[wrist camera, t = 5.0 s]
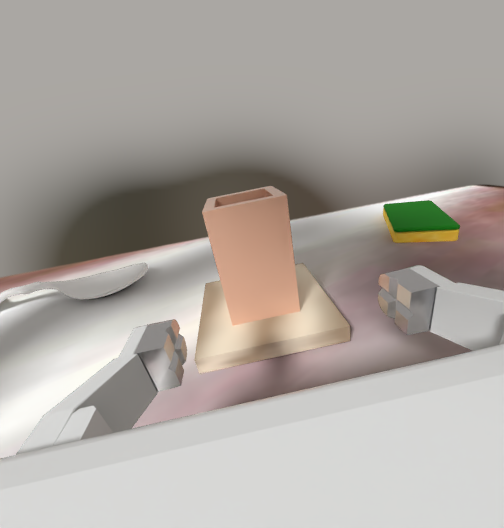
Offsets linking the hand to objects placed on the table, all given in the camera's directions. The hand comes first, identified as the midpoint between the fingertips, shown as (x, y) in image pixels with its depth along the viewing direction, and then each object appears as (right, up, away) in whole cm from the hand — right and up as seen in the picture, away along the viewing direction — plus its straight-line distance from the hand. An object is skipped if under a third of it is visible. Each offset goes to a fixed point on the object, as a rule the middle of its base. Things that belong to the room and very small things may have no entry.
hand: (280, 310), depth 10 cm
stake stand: (0, -3, +15) cm, 15 cm away
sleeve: (0, -2, +14) cm, 14 cm away
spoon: (-32, -4, +27) cm, 42 cm away
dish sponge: (+24, +7, +28) cm, 38 cm away
